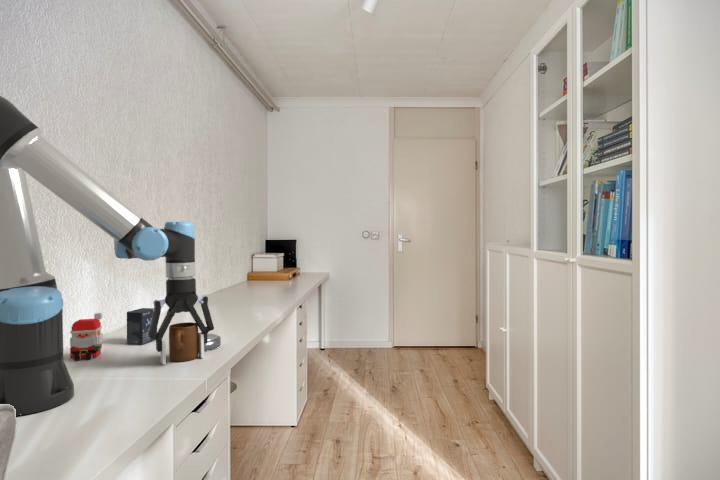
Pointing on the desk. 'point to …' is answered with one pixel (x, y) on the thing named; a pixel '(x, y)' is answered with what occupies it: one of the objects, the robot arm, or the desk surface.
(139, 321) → the box
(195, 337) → the mug
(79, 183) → the robot arm
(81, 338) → the figurine
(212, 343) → the grey metal dish
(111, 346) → the desk surface
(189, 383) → the desk surface
